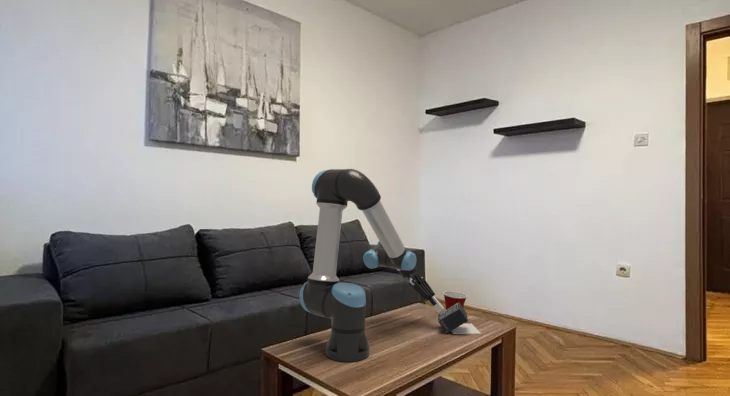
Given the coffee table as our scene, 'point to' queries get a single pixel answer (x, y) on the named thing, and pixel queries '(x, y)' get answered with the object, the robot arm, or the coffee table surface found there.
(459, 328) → the mat
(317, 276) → the robot arm
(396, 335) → the coffee table surface
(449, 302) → the plastic cup
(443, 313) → the small box
